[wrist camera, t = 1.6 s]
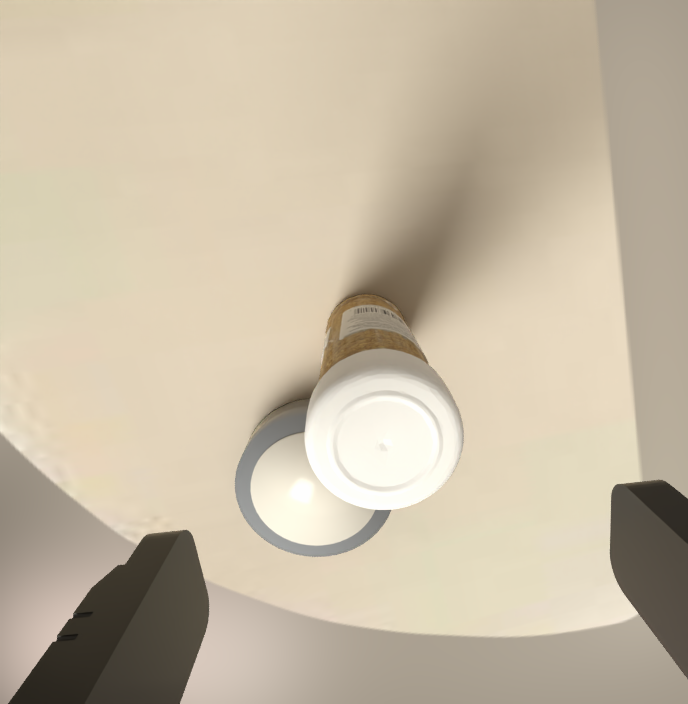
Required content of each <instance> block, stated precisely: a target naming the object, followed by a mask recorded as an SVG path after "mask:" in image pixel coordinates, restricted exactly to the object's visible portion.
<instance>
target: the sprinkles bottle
mask: <svg viewBox="0 0 688 704" xmlns="http://www.w3.org/2000/svg"><path fill="white" fill-rule="evenodd" d="M463 433H464V431H463V424H462V419H461V415H460V412H459V409H458V407H457V405H456V403H455V401H454V399H453V397H452V395H451V393H450V391H449V389H448V388H447V386H446V385H445V383H444V381H443V380H442V378H441V377H440V376H439V375H438V373H437V372H436V371H435V370H434V369H433V368H432V367H431V366H429V364H428V361H427V359H426V357H425V355H424V353H423V352H422V350H421V348H420V346H419V345H418V343H417V341H416V340H415V338H414V336H413V334H412V333H411V331H410V330H409V328H408V326H407V325H406V324H405V320H404V318H403V316H402V314H401V312H400V311H399V310H398V308H397V307H396V306H395V305H394V304H393V303H391V302H389V301H388V300H386V299H385V298H382V297H379V296H377V295H372V294H370V295H368V294H363V295H357V296H354V297H352V298H348V299H346V300H345V301H344V302H342V303H341V304H339V305H338V306H337V307H336V308H335V309H334V311H333V312H332V314H331V316H330V318H329V320H328V325H327V329H326V337H325V341H324V346H323V352H322V358H321V371H320V377H319V382H318V384H317V385H316V387H315V389H314V391H313V393H312V396H311V398H310V402H309V406H308V411H307V417H306V425H305V448H306V453H307V457H308V460H309V463H310V465H311V468H312V469H313V471H314V473H315V474H316V476H317V477H318V479H319V480H320V481H321V483H322V484H323V485H324V486H325V487H326V488H327V489H328V490H330V491H331V492H332V493H333V494H334V495H336V496H337V497H339V498H341V499H343V500H344V501H346V502H348V503H351V504H353V505H356V506H359V507H363V508H368V509H375V510H392V509H398V508H403V507H407V506H410V505H413V504H415V503H418V502H420V501H422V500H424V499H425V498H427V497H429V496H431V495H432V494H433V493H435V492H436V491H437V490H438V489H440V488H441V487H442V486H443V485H444V483H445V482H446V481H447V480H448V479H449V477H450V476H451V475H452V473H453V472H454V470H455V468H456V466H457V464H458V462H459V459H460V456H461V452H462V448H463V441H464V434H463Z"/></svg>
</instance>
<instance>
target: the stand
mask: <svg viewBox="0 0 688 704" xmlns="http://www.w3.org/2000/svg"><path fill="white" fill-rule="evenodd" d="M309 402H310V399H303V400H298V401H294V402H291V403H288V404H286V405H284V406H281V407H279V408H278V409H276V410H274V411H273V412H271V413H270V414H269V415H268V416H267V417H265V418H264V419H263V420H262V421H261V422H260V424H259V425H258V426H257V427H256V429H255V430H254V432H253V434H252V436H251V438H250V440H249V442H248V444H247V446H246V448H245V451H244V453H243V455H242V457H241V459H240V461H239V464H238V467H237V471H236V477H235V492H236V498H237V502H238V505H239V508H240V510H241V512H242V514H243V516H244V518H245V519H246V521H247V522H248V524H249V525H250V526H251V527H252V529H253V530H254V531H255V532H256V533H257V534H258V535H259V536H260V537H262V538H263V539H264V540H266V541H267V542H269V543H270V544H272V545H274V546H275V547H277V548H279V549H282V550H284V551H287V552H290V553H293V554H297V555H303V556H312V557H323V556H332V555H337V554H341V553H344V552H347V551H350V550H352V549H355V548H357V547H358V546H360V545H362V544H364V543H365V542H366V541H368V540H369V539H370V538H372V537H373V536H374V535H375V534H376V533H377V532H378V531H379V530H380V528H381V527H382V526H383V525H384V523H385V521H386V520H387V518H388V516H389V514H390V512H391V510H375V509H368V508H363V507H359V506H356V505H353V504H351V503H348V502H346V501H344V500H343V499H341V498H339V497H337V496H336V495H334V494H333V493H332V492H331V491H330V490H328V489H327V488H326V487H325V486H324V485H323V484H322V483H321V481H320V480H319V479H318V477H317V476H316V474H315V473H314V471H313V469H312V468H311V465H310V463H309V460H308V457H307V453H306V448H305V425H306V417H307V411H308V406H309Z"/></svg>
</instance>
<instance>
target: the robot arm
mask: <svg viewBox="0 0 688 704" xmlns="http://www.w3.org/2000/svg"><path fill="white" fill-rule="evenodd" d="M610 559H611V565H612V569H613V572H614V575H615V578H616V580H617V582H618V584H619V586H620V588H621V590H622V591H623V593H624V594H625V596H626V597H627V598H628V600H629V601H630V602H631V604H632V605H633V606H634V608H635V609H636V610H637V612H638V613H639V614H640V616H641V617H642V618H643V620H644V621H645V622H646V624H647V625H648V626H649V628H650V629H651V630H652V632H653V633H654V635H655V636H656V637H657V638H658V640H659V641H660V643H661V644H662V645H663V647H664V648H665V649H666V651H667V652H668V653H669V654H670V656H671V657H672V659H673V660H674V661H675V663H676V664H677V665H678V667H679V668H680V669H681V671H682V672H683V673H684V675H685V676H686V677H687V678H688V499H687V498H686V497H685V496H683V495H682V494H681V493H680V492H678V491H677V490H676V489H675V488H674V487H672V486H671V485H670V484H668V483H667V482H665V481H663V480H654V481H644V482H635V483H626V484H617V485H616V486H615V487H614V488H613V490H612V495H611V533H610ZM208 617H209V598H208V593H207V589H206V585H205V581H204V577H203V573H202V569H201V566H200V562H199V558H198V554H197V550H196V546H195V542H194V539H193V536H192V534H191V533H190V532H189V531H188V530H181V531H172V532H163V533H154V534H148V535H146V536H145V537H144V538H143V539H142V540H141V542H140V543H139V545H138V546H137V548H136V549H135V551H134V552H133V554H132V555H131V557H130V558H129V560H128V561H127V563H126V564H125V565H118V566H117V567H115V568H114V569H113V570H112V571H111V572H110V573H109V574H107V575H106V576H105V577H104V578H103V579H102V580H100V581H99V582H98V583H97V584H96V585H95V586H94V587H92V588H91V590H90V591H89V592H88V594H87V595H86V597H85V598H84V600H83V601H82V602H81V604H80V605H79V606H78V608H77V609H76V611H75V612H74V613H73V618H72V619H69V620H68V622H67V623H66V624H65V626H64V627H63V628H62V630H61V631H60V633H59V634H58V635H57V641H56V642H52V644H51V645H50V647H49V648H48V650H47V651H46V652H45V653H44V655H43V656H42V658H41V659H40V660H39V662H38V663H37V665H36V666H35V667H34V669H33V670H32V671H31V673H30V674H29V676H28V677H27V678H26V680H25V681H24V683H23V684H22V685H21V687H20V688H19V689H18V691H17V692H16V694H15V695H14V696H13V698H12V699H11V701H10V702H9V703H8V704H180V701H181V698H182V696H183V693H184V690H185V687H186V685H187V682H188V679H189V676H190V673H191V671H192V668H193V665H194V663H195V660H196V657H197V654H198V651H199V649H200V646H201V643H202V640H203V637H204V635H205V632H206V628H207V624H208Z"/></svg>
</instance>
